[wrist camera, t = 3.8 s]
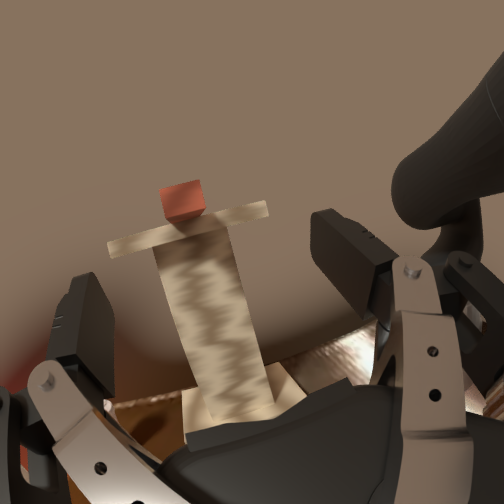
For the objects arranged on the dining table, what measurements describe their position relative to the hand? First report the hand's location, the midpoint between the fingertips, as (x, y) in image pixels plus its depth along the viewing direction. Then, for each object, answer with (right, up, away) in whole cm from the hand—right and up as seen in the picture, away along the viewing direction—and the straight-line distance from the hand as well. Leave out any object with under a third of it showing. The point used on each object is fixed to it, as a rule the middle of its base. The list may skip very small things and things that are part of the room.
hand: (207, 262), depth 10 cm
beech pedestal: (0, -26, +34) cm, 43 cm away
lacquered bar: (-7, +4, +26) cm, 27 cm away
